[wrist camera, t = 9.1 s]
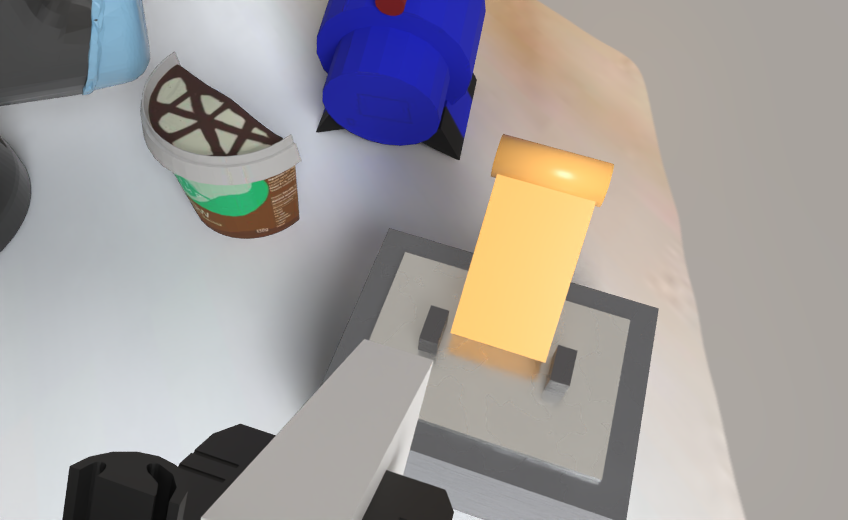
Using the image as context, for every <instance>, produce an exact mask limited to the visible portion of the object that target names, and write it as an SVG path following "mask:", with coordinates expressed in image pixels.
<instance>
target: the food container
mask: <svg viewBox="0 0 848 520" xmlns="http://www.w3.org/2000/svg"><path fill="white" fill-rule="evenodd" d="M140 112H141V120H142V127H143V133H144V139H145V141H146V144H147V146H148V149H149V150H150V152H151V153H152V155H153V156H154V157H155V159H156V160H158V161H159V162H160V163H161V164H162V165H163V166H164V167H165V168H167V169H168V170H170V171H171V172H173V173H174V174H175V176H176V177H177V179H178V181H179V183H180V184H181V186H182V188H183V190H184V191H185V193H186V195H187V197H188V198H189V200H190V202H191V204H192V205H193V207H194V209H195V211H196V212H197V214H198V216H199V217H200V219H201V220H202V221H203V222H204V223H205V224H206V225H207V226H208V227H209V228H211V229H212V230H214V231H216V232H218V233H220V234H222V235H226V236H229V237H234V238H241V239H250V238H259V237H265V236H269V235H272V234H275V233H277V232H280V231H282V230H284V229H286V228H288V227H289V226H291V225H293V224H294V223H295V222H297V221H298V220H299V208H298V195H297V183H296V170H295V165H296V164H297V163H299V162H300V161H301V158H300V155H299V152H298V149H297V146H296V144H295V143H294V142H293V138H292V135H289V136H288V137H286V138H284V139H283V138H282V137H280V136H278V135H276V134H275V133H273V132H272V131H270V130H269V129H267V128H266V127H265V126H263V125H262V124H261V123H259V122H258V121H257V120H256V119H254V118H253V117H252V116H251V115H249V114H248V113H247V112H246V111H245V110H244V109H242V108H241V107H240V106H239V105H238V104H236V103H235V102H234V101H233V100H231V99H230V98H228V97H227V96H225V95H224V94H222V93H220V92H218V91H217V90H215V89H213V88H211V87H210V86H208V85H206V84H205V83H204V82H202V81H201V80H199V79H198V78H197V77H195V76H194V75H192V74H191V73H190V72H188V71H187V70H185V69H184V68H183V67H181V65H180V63H179V61H178V58H177V56H176V53H175V52H173V53H172V54H170V55H169V56H168V57H166V58H165V59H164V60H163V61H162V62H161V63H160V64H159V65H158V66H157V67H156V68H155V69H154V71H153V72H152V73H151V75H150V76H149V78H148V80H147V82H146V84H145V87H144V90H143V94H142V100H141V110H140Z"/></svg>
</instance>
